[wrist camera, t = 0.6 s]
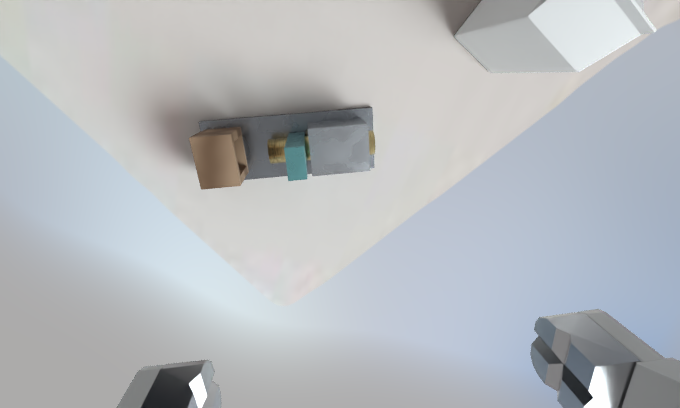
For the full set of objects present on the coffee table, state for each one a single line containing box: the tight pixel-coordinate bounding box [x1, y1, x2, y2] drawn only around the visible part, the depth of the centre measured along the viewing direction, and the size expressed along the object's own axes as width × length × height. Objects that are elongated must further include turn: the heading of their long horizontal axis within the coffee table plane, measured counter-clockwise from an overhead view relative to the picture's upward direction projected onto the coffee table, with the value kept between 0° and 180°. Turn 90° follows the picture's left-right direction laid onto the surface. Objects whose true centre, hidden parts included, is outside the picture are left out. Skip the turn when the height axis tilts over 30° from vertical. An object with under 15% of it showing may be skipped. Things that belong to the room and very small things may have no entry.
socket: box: [189, 127, 249, 189], centre depth 40 cm, size 4×6×6 cm
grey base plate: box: [199, 107, 374, 180], centre depth 41 cm, size 22×8×6 cm, turn 94°
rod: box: [267, 130, 375, 181], centre depth 39 cm, size 13×4×10 cm, turn 94°
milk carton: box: [454, 0, 656, 73], centre depth 32 cm, size 7×7×19 cm
